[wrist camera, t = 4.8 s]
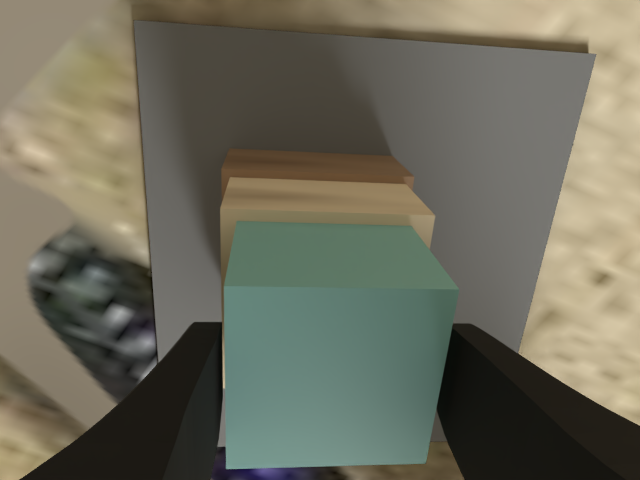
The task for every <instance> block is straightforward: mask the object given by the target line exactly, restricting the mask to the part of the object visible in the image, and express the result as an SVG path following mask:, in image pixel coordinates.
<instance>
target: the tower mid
mask: <svg viewBox="0 0 640 480" xmlns="http://www.w3.org/2000/svg"><path fill="white" fill-rule="evenodd" d="M434 220H435V215H434V214H433V212H432V211H431V210H430V209H429V208H428V207H427V206H426V205H425V204H424V203H423V202H422V201H421V200H420V199H419V198H418V196H417V195H416V194H415V193H414V192H413V191H412V190H411V189H410V188H409V187H408V186H407V185H406V184H392V183H367V182H341V181H316V180H291V179H265V178H240V177H230V179H229V182H228V185H227V188H226V191H225V195H224V198H223V201H222V204H221V207H220V234H221V311H222V352H223V388H225V338H224V283H225V278H226V273H227V268H228V263H229V258H230V252H231V247H232V242H233V237H234V232H235V227H236V222H237V221H258V222H294V223H329V224H364V225H400V226H412V227H413V229H414V230H415V231H416V233H417V234H418V235H419V237H420V238H421V239H422V240H423V242H424V243H425V244H426V246H427V247H428V248H429V250H430V245H431V239H432V233H433V227H434Z"/></svg>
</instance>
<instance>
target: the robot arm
mask: <svg viewBox="0 0 640 480" xmlns="http://www.w3.org/2000/svg"><path fill="white" fill-rule="evenodd" d="M222 402H223V352H222V322H193V323H192V324H191V325H190V326H189V327H188V328H187V330H186V331H185V332H184V333H183V335H182V336H181V337H180V338H179V340H178V341H177V342H176V343H175V345H174V346H173V347H172V348H171V349H170V350H169V352H168V353H167V354H166V355H165V356H164V357H163V359H162V360H161V361H160V362H159V363H158V364H157V365H156V366H155V367H154V368H153V369H152V371H151V372H150V373H149V374H148V375H147V376H146V377H145V378H144V379H143V380H142V381H141V382H140V383H139V384H138V385H137V386H136V387H135V388H134V389H133V390H132V391H131V392H130V393H129V394H128V395H127V396H126V397H125V398H124V399H123V400H122V401H121V402H120V403H119V404H118V405H117V406H116V407H114V408H113V409H112V410H111V411H110V412H109V413H108V414H107V415H105V416H104V417H103V418H102V419H101V420H100V421H99V422H97V423H96V424H95V425H94V426H93V427H91V428H90V429H89V430H88V431H86V432H85V433H84V434H83V435H82V436H80V437H79V438H78V439H77V440H75V441H74V442H73V443H71V444H70V445H69V446H67V447H66V448H64V449H63V450H61V451H60V452H59V453H57V454H56V455H54V456H53V457H51V458H50V459H49V460H47V461H46V462H44V463H43V464H41V465H40V466H39V467H37V468H36V469H34V470H33V471H31V472H30V473H29V474H27V475H26V476H24V477H23V478H21V479H20V480H210V479H211V474H212V469H213V464H214V460H215V455H216V450H217V445H218V441H219V433H220V423H221V413H222ZM436 409H437V413H438V416H439V419H440V422H441V426H442V429H443V432H444V435H445V437H446V439H447V442H448V444H449V446H450V448H451V451H452V453H453V455H454V457H455V460H456V462H457V464H458V466H459V469H460V471H461V473H462V475H463V477H464V479H465V480H640V426H639V425H637V424H635V423H633V422H631V421H629V420H627V419H625V418H624V417H622V416H620V415H618V414H616V413H614V412H612V411H610V410H608V409H606V408H605V407H603V406H601V405H599V404H597V403H596V402H594V401H592V400H591V399H589V398H587V397H586V396H584V395H582V394H581V393H579V392H577V391H576V390H574V389H572V388H570V387H569V386H567V385H565V384H564V383H562V382H561V381H559V380H558V379H556V378H554V377H553V376H551V375H550V374H548V373H547V372H545V371H543V370H542V369H540V368H539V367H537V366H536V365H534V364H533V363H531V362H530V361H528V360H527V359H525V358H524V357H522V356H521V355H519V354H518V353H516V352H515V351H513V350H512V349H511V348H509V347H508V346H506V345H505V344H503V343H502V342H500V341H499V340H497V339H496V338H494V337H493V336H491V335H490V334H488V333H486V332H485V331H483V330H482V329H480V328H478V327H476V326H475V325H473V324H471V323H453V325H452V331H451V336H450V341H449V346H448V351H447V356H446V361H445V367H444V372H443V377H442V382H441V387H440V392H439V397H438V403H437V408H436Z"/></svg>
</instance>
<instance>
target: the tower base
mask: <svg viewBox="0 0 640 480" xmlns="http://www.w3.org/2000/svg"><path fill="white" fill-rule="evenodd" d="M230 177H240V178H265V179H291V180H316V181H341V182H367V183H392V184H406V185H407V186H408V187H409V188H410V189H411V190H413V183H414V176H413V175H412V174H411V173H410V172H409V171H408V170H407V169H406V168H405V167H404V166H403V165H402V164H401V163H399V162H398V161H397V160H396V159H395V158H394V157H393V156H383V155H362V154H340V153H318V152H297V151H275V150H253V149H231V148H229V151H228V153H227V156H226V158H225V161H224V163H223V166H222V168H221V183H222V201H223V198H224V195H225V191H226V188H227V185H228V182H229V179H230Z"/></svg>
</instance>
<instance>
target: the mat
mask: <svg viewBox="0 0 640 480" xmlns="http://www.w3.org/2000/svg"><path fill="white" fill-rule="evenodd" d="M134 31H135V45H136V59H137V73H138V87H139V101H140V114H141V128H142V142H143V156H144V170H145V184H146V197H147V211H148V225H149V239H150V253H151V267H152V281H153V294H154V308H155V322H156V336H157V350H158V363H159V362H160V361H161V360H162V359H163V357H164V356H165V355H166V354H167V353H168V352H169V350H170V349H171V348H172V347H173V346H174V345H175V343H176V342H177V341H178V340H179V338H180V337H181V336H182V335H183V333H184V332H185V331H186V330H187V328H188V327H189V326H190V325H191V324H192V323H193V322H222V311H221V234H220V207H221V204H222V183H221V168H222V166H223V163H224V161H225V158H226V156H227V153H228V151H229V148H231V149H253V150H275V151H297V152H318V153H340V154H362V155H383V156H393V157H394V158H395V159H396V160H397V161H398V162H399V163H401V164H402V165H403V166H404V167H405V168H406V169H407V170H408V171H409V172H410V173H411V174H412V175H413V176H414V183H413V190H412V191H413V192H414V193H415V194H416V195H417V196H418V198H419V199H420V200H421V201H422V202H423V203H424V204H425V205H426V206H427V207H428V208H429V209H430V210H431V211H432V212H433V214H434V215H435V220H434V227H433V233H432V239H431V245H430V251H431V252H432V254H433V255H434V256H435V258H436V259H437V260H438V262H439V263H440V264H441V266H442V267H443V268H444V270H445V271H446V272H447V274H448V275H449V276H450V277H451V279H452V280H453V281H454V283H455V284H456V285H457V287H458V288H459V294H458V300H457V305H456V310H455V315H454V320H453V323H471V324H473V325H475V326H476V327H478V328H480V329H482V330H483V331H485V332H486V333H488V334H490V335H491V336H493V337H494V338H496V339H497V340H499V341H500V342H502V343H503V344H505V345H506V346H508V347H509V348H511V349H512V350H513V351H515V352H516V353H518V351H519V347H520V343H521V340H522V336H523V332H524V328H525V324H526V321H527V317H528V313H529V309H530V305H531V302H532V298H533V294H534V290H535V286H536V282H537V279H538V275H539V271H540V267H541V263H542V260H543V256H544V252H545V248H546V244H547V241H548V237H549V233H550V229H551V225H552V221H553V218H554V214H555V210H556V206H557V202H558V199H559V195H560V191H561V187H562V183H563V180H564V176H565V172H566V168H567V164H568V160H569V157H570V153H571V149H572V145H573V141H574V138H575V134H576V130H577V126H578V122H579V119H580V115H581V111H582V107H583V103H584V99H585V96H586V92H587V88H588V84H589V80H590V77H591V73H592V69H593V65H594V61H595V57H596V54H589V53H575V52H561V51H548V50H534V49H521V48H507V47H494V46H480V45H466V44H453V43H439V42H426V41H412V40H399V39H385V38H371V37H358V36H344V35H331V34H317V33H303V32H290V31H276V30H263V29H249V28H236V27H222V26H208V25H195V24H181V23H168V22H154V21H140V20H134ZM443 441H447V439H446V437H445V435H444V432H443V429H442V426H441V422H440V419H439V416H438V413H437V409H436V413H435V418H434V423H433V428H432V434H431V439H430V442H443ZM221 446H226V418H225V388H223V402H222V413H221V423H220V433H219V441H218V445H217V447H221Z"/></svg>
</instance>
